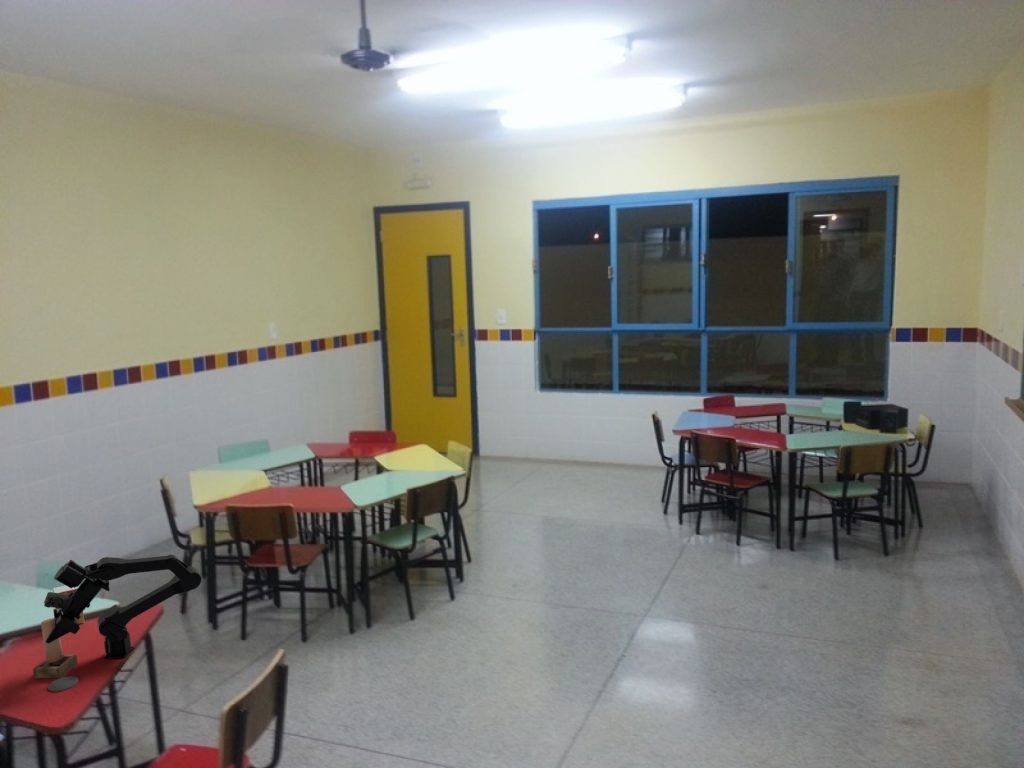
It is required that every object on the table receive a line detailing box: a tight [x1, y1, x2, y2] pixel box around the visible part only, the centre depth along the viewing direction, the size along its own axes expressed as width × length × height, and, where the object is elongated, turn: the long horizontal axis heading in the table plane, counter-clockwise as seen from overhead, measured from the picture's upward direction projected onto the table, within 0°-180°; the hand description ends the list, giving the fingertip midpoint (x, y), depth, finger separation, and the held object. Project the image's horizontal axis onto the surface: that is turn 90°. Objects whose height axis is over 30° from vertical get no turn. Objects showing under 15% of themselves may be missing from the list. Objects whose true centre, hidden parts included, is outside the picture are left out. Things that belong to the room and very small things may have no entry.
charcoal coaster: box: [47, 675, 79, 693], centre depth 221 cm, size 8×8×1 cm
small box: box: [52, 584, 85, 625], centre depth 261 cm, size 8×6×13 cm
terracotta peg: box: [40, 617, 64, 663], centre depth 228 cm, size 4×4×12 cm
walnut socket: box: [32, 654, 79, 679], centre depth 229 cm, size 8×8×3 cm
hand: (46, 639), depth 227 cm, fingers closed on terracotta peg, 4 cm apart
